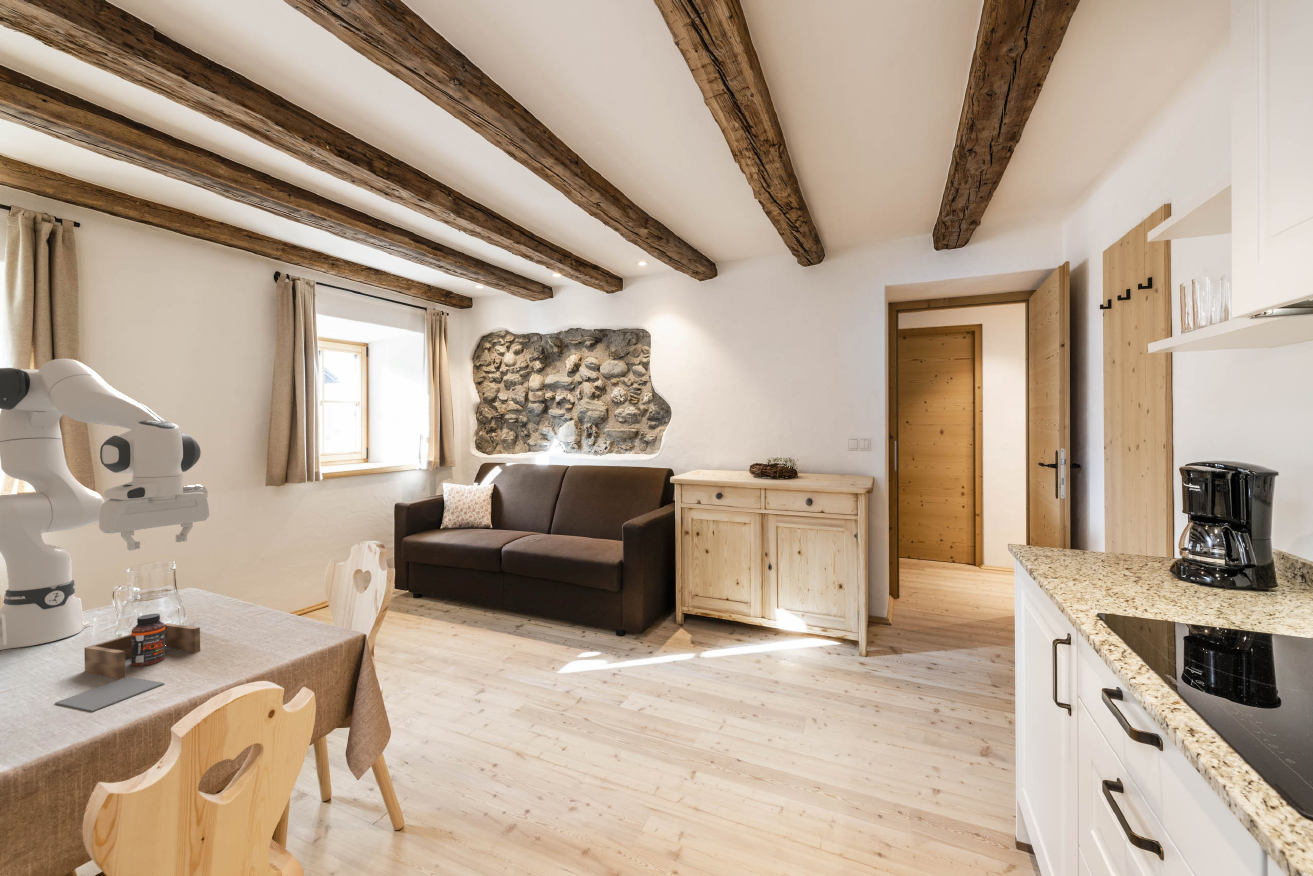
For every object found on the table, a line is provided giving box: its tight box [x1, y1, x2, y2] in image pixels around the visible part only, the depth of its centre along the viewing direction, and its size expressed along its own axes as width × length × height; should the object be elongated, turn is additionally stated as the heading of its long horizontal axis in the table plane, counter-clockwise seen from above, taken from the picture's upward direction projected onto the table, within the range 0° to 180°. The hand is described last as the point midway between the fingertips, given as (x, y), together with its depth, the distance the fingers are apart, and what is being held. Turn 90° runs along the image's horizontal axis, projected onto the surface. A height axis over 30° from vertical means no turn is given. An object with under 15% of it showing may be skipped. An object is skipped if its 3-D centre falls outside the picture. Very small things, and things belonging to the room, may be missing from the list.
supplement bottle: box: [130, 613, 166, 667], centre depth 127 cm, size 6×6×11 cm
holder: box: [83, 622, 201, 680], centre depth 128 cm, size 12×16×6 cm
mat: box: [54, 676, 165, 713], centre depth 112 cm, size 12×12×1 cm
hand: (158, 545), depth 126 cm, fingers open, 8 cm apart
